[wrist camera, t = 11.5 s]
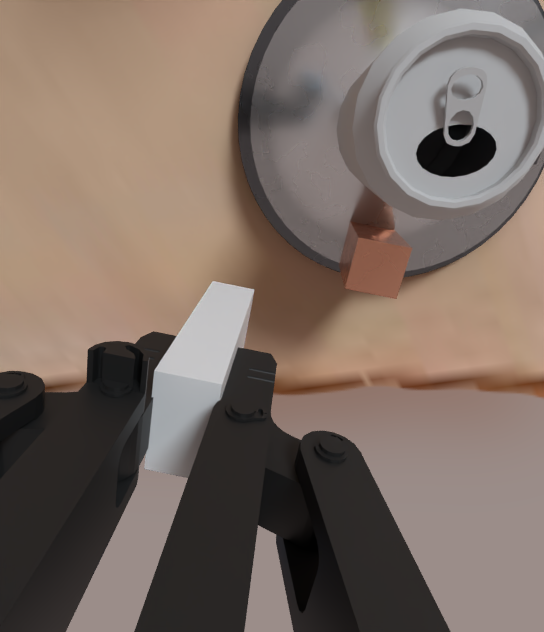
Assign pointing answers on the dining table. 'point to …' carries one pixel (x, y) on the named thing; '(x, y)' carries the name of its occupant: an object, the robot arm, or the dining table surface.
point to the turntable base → (249, 163)
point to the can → (446, 115)
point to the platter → (323, 150)
